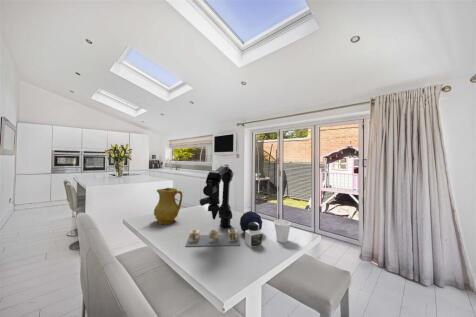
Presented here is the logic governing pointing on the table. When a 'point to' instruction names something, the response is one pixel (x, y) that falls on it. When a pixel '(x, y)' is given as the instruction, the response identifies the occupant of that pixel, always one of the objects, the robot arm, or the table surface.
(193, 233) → the marked block
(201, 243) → the mat
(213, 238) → the plain block
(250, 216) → the decorative orb
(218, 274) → the table surface
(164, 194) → the pitcher
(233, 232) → the marked block
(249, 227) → the medicine bottle
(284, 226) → the cup
